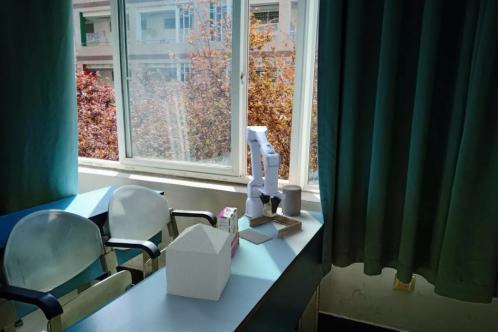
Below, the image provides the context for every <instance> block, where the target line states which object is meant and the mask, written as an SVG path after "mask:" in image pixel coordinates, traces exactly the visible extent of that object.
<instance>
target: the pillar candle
mask: <svg viewBox="0 0 498 332" xmlns="http://www.w3.org/2000/svg"><path fill="white" fill-rule="evenodd" d="M281 188H282V189H281V193H282V194H285V199H284V200H281V214H282V213H283V214H282V215H284V214H285V215H284V216H286V215H290V216H289V217H298V216H300V215H301V214H302V213H301V210H302V186H300V185H297V184H296V185H295V184H286V185H283V186H281ZM292 215H293V216H292ZM295 215H296V216H295ZM297 215H298V216H297Z"/></svg>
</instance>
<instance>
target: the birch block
mask: <svg viewBox="0 0 498 332" xmlns="http://www.w3.org/2000/svg"><path fill="white" fill-rule="evenodd" d="M277 212H278V211H277ZM277 212H276V213H275V214H272V205H271V201H269V203H266V204H264V215H265V216H268V217H273V216H276V215H277V214H278V213H277Z"/></svg>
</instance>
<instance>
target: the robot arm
mask: <svg viewBox="0 0 498 332" xmlns="http://www.w3.org/2000/svg"><path fill="white" fill-rule="evenodd" d="M268 129H269V128H268V127H267V126H266V125H264V126H262V125H260V126H259V125H258V126H256V125H251V126H250V125H247V126H246V128H245V132H244V133H245V142H246V145H248V146H249V149H250V161H251V163H250V165H251V175H252V176H251V177H252V179H251V180H250V181H249V182H247V188H246V195H247V198H246V201H245V213H244V214H243V215H244V216H247V217H248V218H250V219H252V218H255V217H258V216H261V215H264V204H266V203H269V202H271V205H272V214H275V213H276V212H278V209H279V205H280V204H281V203H282V200H284V199H285V194H282V192H279V191H278V189H279V187H278V184H279V168H280V167H281V164H282V159H281V158H282V157H281V154H280V153H278V152H276V151H275V149H274V147H273V145H272V143H270V142H269V141H268V135H269V131H268ZM261 155H262V157H261ZM262 162H263V168H262ZM262 170H263V171H264V178H263V171H262Z"/></svg>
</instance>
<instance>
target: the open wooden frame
mask: <svg viewBox="0 0 498 332" xmlns="http://www.w3.org/2000/svg"><path fill="white" fill-rule="evenodd" d="M269 220H270V221H273V220H274V222H276V221H277V223H279V222H280V224H282V223H283V225H286V226H285V227H283V228H279V229H278V231H277V238H278V239H282V238H285V237H287V236H289V235H291V234H293V233H296V232H299V231H302V230H303V229H302V228H303V222H302V221H301V220H297V219H294V218H291V217H290V216H286V215H284V214H279V213H277V215H276V216H273V217H268V216H265V215H261V216H258V217H255V218H249V226H250V228H253V227H255V226H258V225H261V224H264V223H267V222H269ZM266 221H267V222H266Z"/></svg>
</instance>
